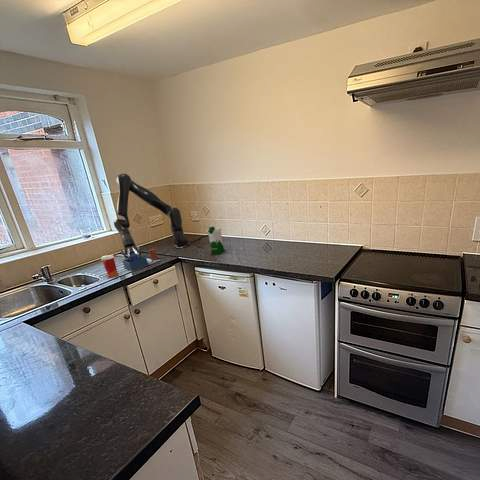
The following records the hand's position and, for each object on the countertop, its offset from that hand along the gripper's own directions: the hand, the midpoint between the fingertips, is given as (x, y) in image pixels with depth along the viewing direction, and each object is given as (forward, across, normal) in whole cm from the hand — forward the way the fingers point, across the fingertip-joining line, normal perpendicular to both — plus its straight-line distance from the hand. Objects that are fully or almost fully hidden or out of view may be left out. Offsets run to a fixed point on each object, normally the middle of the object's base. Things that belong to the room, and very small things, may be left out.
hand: (135, 260), depth 211 cm
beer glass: (+9, -16, -2) cm, 18 cm away
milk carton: (+16, +56, -9) cm, 59 cm away
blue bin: (+2, 0, +5) cm, 5 cm away
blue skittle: (+1, 0, +4) cm, 5 cm away
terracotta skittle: (-2, +14, +9) cm, 17 cm away
